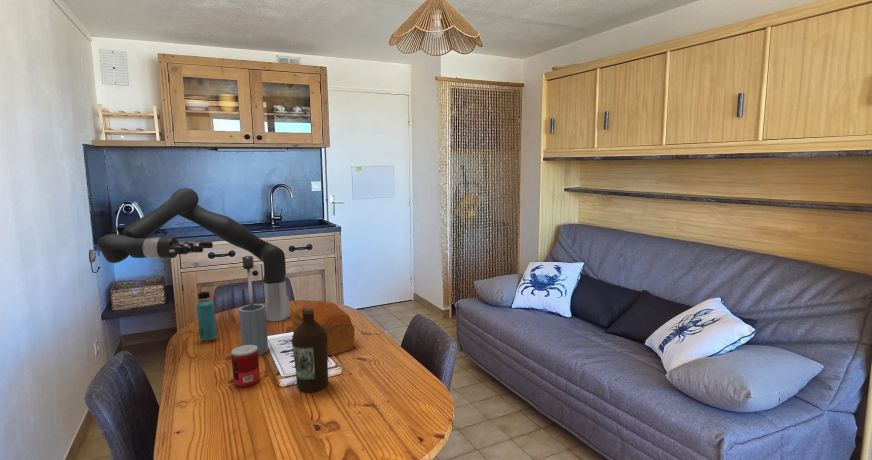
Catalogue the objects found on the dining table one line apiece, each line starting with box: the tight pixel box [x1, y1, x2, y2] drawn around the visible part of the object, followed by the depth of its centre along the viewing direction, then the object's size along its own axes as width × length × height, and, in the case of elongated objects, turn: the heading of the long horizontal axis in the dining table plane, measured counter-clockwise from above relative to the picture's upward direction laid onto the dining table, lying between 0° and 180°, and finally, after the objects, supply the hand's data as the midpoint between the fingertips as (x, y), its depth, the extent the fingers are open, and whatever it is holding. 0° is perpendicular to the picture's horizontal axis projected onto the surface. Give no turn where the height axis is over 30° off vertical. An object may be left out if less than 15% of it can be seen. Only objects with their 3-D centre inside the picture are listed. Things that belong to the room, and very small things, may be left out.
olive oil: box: [291, 307, 329, 393], centre depth 147 cm, size 11×11×25 cm
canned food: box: [230, 345, 261, 388], centre depth 152 cm, size 8×8×11 cm
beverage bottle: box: [195, 291, 218, 341], centre depth 188 cm, size 6×7×20 cm
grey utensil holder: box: [238, 303, 269, 357], centre depth 177 cm, size 10×10×17 cm
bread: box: [292, 300, 356, 356], centre depth 183 cm, size 16×27×16 cm, turn 38°
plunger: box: [241, 255, 255, 311], centre depth 174 cm, size 6×6×24 cm
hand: (207, 247), depth 171 cm, fingers open, 8 cm apart
